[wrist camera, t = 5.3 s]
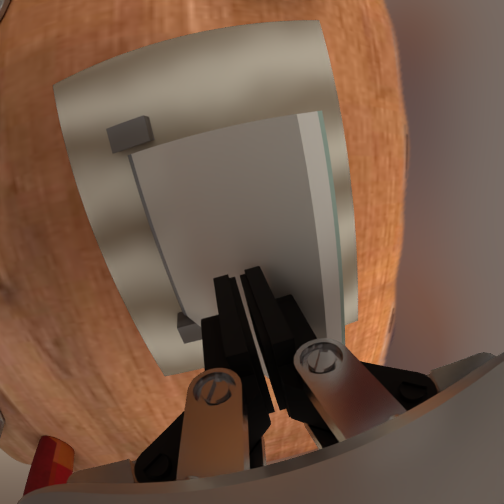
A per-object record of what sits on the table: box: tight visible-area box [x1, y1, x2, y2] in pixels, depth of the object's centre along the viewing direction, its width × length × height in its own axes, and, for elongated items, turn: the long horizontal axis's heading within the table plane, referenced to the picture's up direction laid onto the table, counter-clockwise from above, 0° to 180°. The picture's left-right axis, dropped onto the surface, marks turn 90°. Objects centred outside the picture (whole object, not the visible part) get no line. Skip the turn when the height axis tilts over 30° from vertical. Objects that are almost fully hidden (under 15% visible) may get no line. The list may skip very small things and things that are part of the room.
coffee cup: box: [23, 436, 74, 496], centre depth 23 cm, size 8×8×15 cm
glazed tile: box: [128, 111, 345, 378], centre depth 14 cm, size 12×1×14 cm, turn 12°
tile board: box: [53, 20, 358, 376], centre depth 20 cm, size 26×19×3 cm
